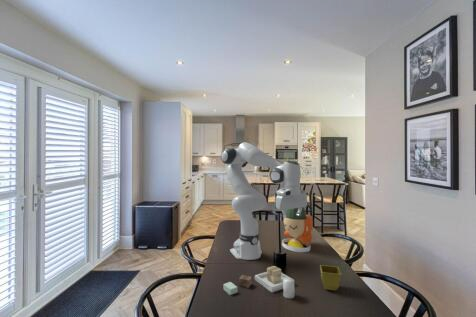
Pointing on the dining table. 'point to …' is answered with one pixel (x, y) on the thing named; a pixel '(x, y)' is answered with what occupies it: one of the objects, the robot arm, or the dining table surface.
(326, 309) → the dining table surface
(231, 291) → the green box
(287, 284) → the white capsule shape
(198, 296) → the dining table surface
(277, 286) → the tray
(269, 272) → the oak block
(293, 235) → the potted cactus
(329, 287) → the flower pot
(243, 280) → the walnut block
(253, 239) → the robot arm
